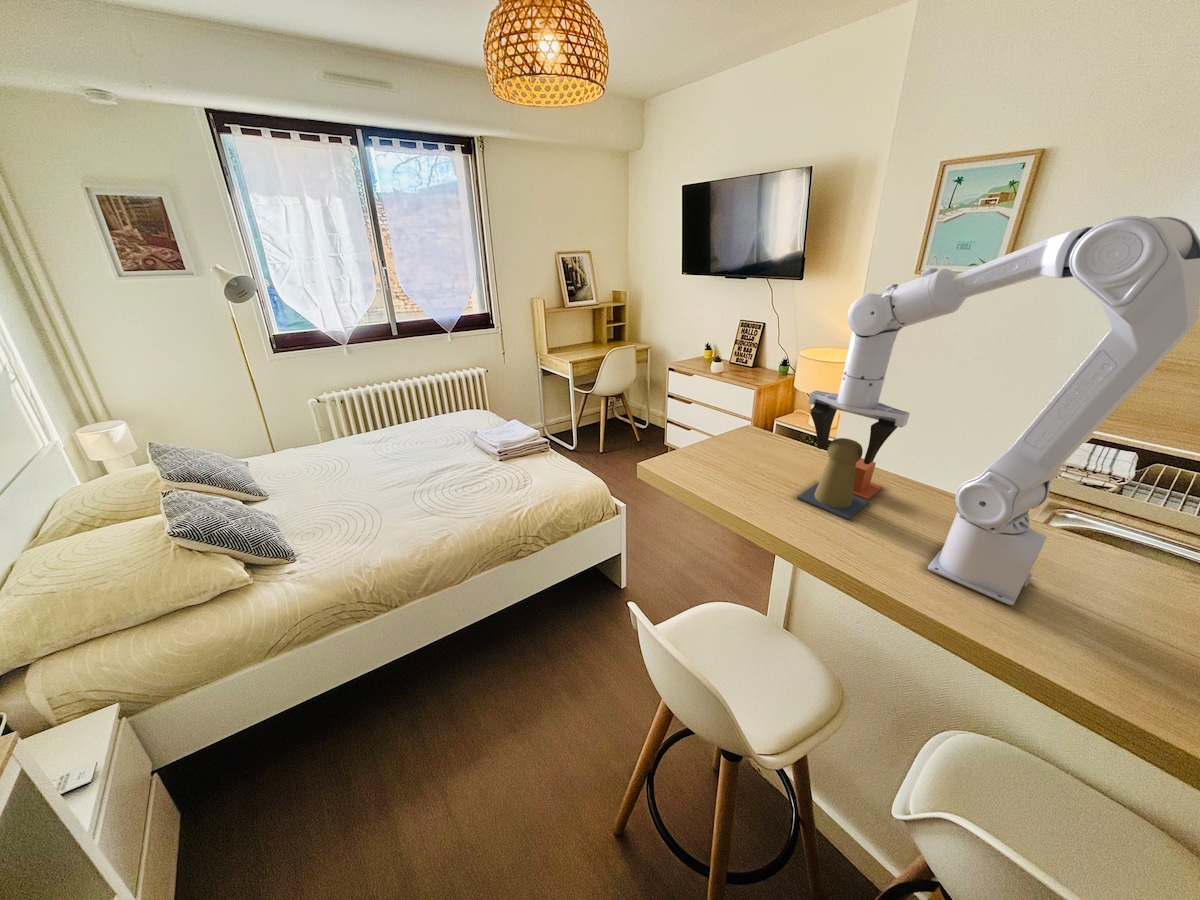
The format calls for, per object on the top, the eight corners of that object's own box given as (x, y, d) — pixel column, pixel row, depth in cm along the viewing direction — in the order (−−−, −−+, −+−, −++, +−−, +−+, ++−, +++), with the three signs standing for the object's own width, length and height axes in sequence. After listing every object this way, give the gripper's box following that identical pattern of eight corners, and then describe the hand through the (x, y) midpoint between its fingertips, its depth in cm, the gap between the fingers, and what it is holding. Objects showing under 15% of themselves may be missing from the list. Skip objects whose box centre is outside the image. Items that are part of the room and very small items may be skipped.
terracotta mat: (882, 488, 85) (882, 486, 85) (867, 500, 82) (868, 498, 81) (838, 472, 91) (838, 470, 91) (822, 483, 87) (823, 481, 87)
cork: (847, 511, 78) (863, 452, 73) (810, 500, 81) (823, 442, 76) (855, 496, 82) (871, 439, 77) (819, 486, 85) (832, 431, 80)
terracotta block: (869, 484, 86) (876, 462, 84) (859, 492, 83) (865, 470, 81) (845, 475, 89) (850, 454, 87) (834, 483, 86) (839, 461, 84)
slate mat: (868, 503, 81) (869, 501, 81) (848, 520, 76) (849, 518, 76) (818, 483, 87) (818, 481, 87) (796, 498, 82) (797, 496, 82)
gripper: (925, 380, 69) (901, 461, 75) (828, 361, 79) (813, 435, 85) (908, 389, 65) (883, 475, 71) (808, 369, 75) (794, 445, 81)
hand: (844, 454), depth 78 cm, fingers open, 7 cm apart
